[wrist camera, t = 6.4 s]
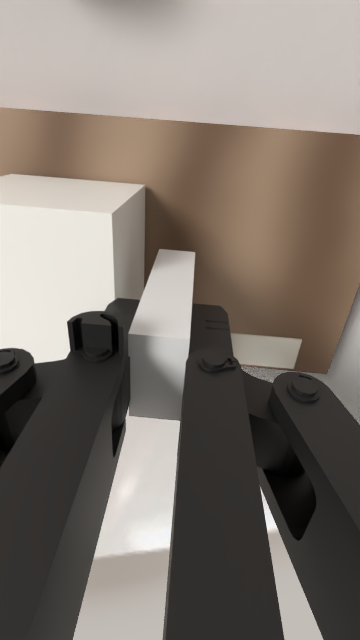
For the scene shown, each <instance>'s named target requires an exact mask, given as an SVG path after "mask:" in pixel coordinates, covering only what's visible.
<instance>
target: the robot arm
mask: <svg viewBox="0 0 360 640" xmlns="http://www.w3.org/2000/svg"><path fill="white" fill-rule="evenodd" d="M194 265H195V252H189V251H177V250H165V249H159V251H158V254H157V257H156V260H155V262H154V265H153V268H152V270H151V273H150V276H149V279H148V281H147V284H146V287H145V289H144V292H143V295H142V297H141V300H137V299H126V298H117V299H116V300H114V301H112V302H111V303H109V304H108V306H107V307H106V309H105V311H89V312H84V313H80V314H78V315H76V316H73V317H72V318H71V319H70V320H68V321H67V327H68V335H69V344H70V352H69V354H68V356H67V357H66V359H63V360H58V361H51V362H42V363H34V358H33V356H32V355H31V353H30V352H28V351H26V350H24V349H18V348H4V349H0V640H73V636H74V632H75V628H76V624H77V620H78V616H79V612H80V608H81V604H82V600H83V597H84V592H85V589H86V585H87V581H88V577H89V573H90V569H91V565H92V561H93V557H94V553H95V549H96V546H97V542H98V538H99V534H100V530H101V526H102V522H103V518H104V514H105V510H106V506H107V502H108V498H109V494H110V491H111V487H112V483H113V479H114V475H115V471H116V467H117V463H118V459H119V455H120V451H121V447H122V443H123V439H124V436H125V432H126V419H125V417H126V414H127V410H128V406H129V416H137V417H147V418H158V419H168V420H179V421H181V422H180V432H179V442H178V453H177V469H176V481H175V493H174V506H173V518H172V531H171V543H170V556H169V569H168V582H167V593H166V606H165V619H164V631H163V640H284V635H283V628H282V622H281V616H280V610H279V603H278V597H277V591H276V585H275V578H274V572H273V565H272V559H271V553H270V547H269V540H268V534H267V528H266V521H265V515H264V509H263V503H262V496H261V490H260V487H261V489H262V491H263V494H264V496H265V499H266V501H267V504H268V506H269V508H270V511H271V513H272V516H273V518H274V520H275V523H276V525H277V528H278V530H279V533H280V535H281V537H282V540H283V542H284V545H285V547H286V549H287V552H288V554H289V557H290V559H291V562H292V564H293V567H294V569H295V571H296V574H297V576H298V579H299V581H300V583H301V586H302V588H303V591H304V593H305V596H306V598H307V600H308V603H309V605H310V608H311V610H312V613H313V615H314V617H315V620H316V622H317V625H318V627H319V630H320V632H321V634H322V637H323V639H324V640H360V425H359V424H358V422H357V421H356V420H355V419H354V417H353V416H352V415H351V414H350V413H349V411H348V410H347V409H346V408H345V407H344V405H343V404H342V403H341V402H340V401H339V399H338V398H337V397H336V396H335V395H334V393H333V392H332V391H331V390H330V389H329V388H328V387H327V386H326V385H325V384H324V383H323V382H322V381H320V380H318V379H316V378H314V377H312V376H310V375H306V374H303V373H297V372H287V373H283V374H280V375H279V376H277V377H276V378H275V379H274V383H271V382H268V381H265V380H261V379H258V378H256V377H253V376H251V375H249V374H247V373H246V372H244V371H243V370H242V369H241V366H240V363H239V361H238V360H237V359H236V358H235V357H234V355H233V348H232V341H231V333H230V326H229V319H228V313H227V312H226V311H225V310H224V309H223V308H222V307H221V306H217V305H206V304H195V303H192V297H193V281H194Z"/></svg>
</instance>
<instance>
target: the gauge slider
mask: <svg viewBox="0 0 360 640" xmlns="http://www.w3.org/2000/svg"><path fill="white" fill-rule="evenodd" d="M144 252H145V185H142V184H130V183H118V182H106V181H93V180H81V179H69V178H56V177H44V176H32V175H20V174H9V175H4V176H0V349H4V348H18V349H24V350H26V351H28V352H30V353H31V355H32V356H33V358H34V363H42V362H51V361H58V360H63V359H66V357H67V356H68V354H69V352H70V344H69V335H68V327H67V321H68V320H70V319H71V318H72V317H73V316H76V315H78V314H80V313H84V312H89V311H105V309H106V307H107V306H108V304H109V303H111V302H112V301H114V300H116V299H117V298H126V299H137V300H141V297H142V295H143V292H144Z"/></svg>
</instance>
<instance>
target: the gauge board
mask: <svg viewBox="0 0 360 640" xmlns="http://www.w3.org/2000/svg"><path fill="white" fill-rule="evenodd" d="M9 174H20V175H32V176H44V177H56V178H69V179H81V180H93V181H106V182H118V183H130V184H142V185H145V252H144V289H145V287H146V284H147V281H148V279H149V276H150V273H151V270H152V268H153V265H154V262H155V260H156V257H157V254H158V251H159V249H165V250H177V251H189V252H195V265H194V281H193V297H192V303H195V304H206V305H217V306H221V307H222V308H223V309H224V310H225V311H226V312H227V313H228V319H229V326H230V333H231V341H232V348H233V355H234V357H235V358H236V359H237V360H238V361H239V363H240V366H248V367H258V368H269V369H279V370H290V371H300V372H311V373H321V374H327V372H328V369H329V367H330V364H331V361H332V358H333V356H334V353H335V350H336V347H337V345H338V342H339V339H340V337H341V334H342V331H343V328H344V326H345V323H346V320H347V317H348V315H349V312H350V309H351V307H352V304H353V301H354V298H355V296H356V293H357V290H358V287H359V285H360V135H354V134H341V133H328V132H315V131H301V130H288V129H275V128H262V127H249V126H236V125H223V124H209V123H196V122H183V121H170V120H157V119H144V118H131V117H118V116H104V115H91V114H78V113H65V112H52V111H39V110H26V109H12V108H0V176H4V175H9Z"/></svg>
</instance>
